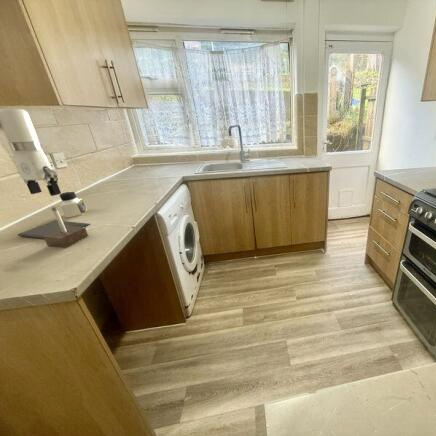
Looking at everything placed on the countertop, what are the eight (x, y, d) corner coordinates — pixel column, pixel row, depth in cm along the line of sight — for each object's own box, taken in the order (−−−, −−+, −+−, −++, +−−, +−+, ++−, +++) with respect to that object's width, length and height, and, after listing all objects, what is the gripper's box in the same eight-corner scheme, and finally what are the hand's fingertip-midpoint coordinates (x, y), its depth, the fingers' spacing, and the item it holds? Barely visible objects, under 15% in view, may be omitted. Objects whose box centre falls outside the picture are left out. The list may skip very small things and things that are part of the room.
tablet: (56, 240, 101) (55, 238, 101) (18, 235, 106) (17, 233, 106) (91, 225, 115) (90, 223, 114) (55, 221, 119) (55, 220, 119)
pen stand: (65, 248, 95) (61, 238, 93) (47, 246, 97) (42, 236, 95) (89, 237, 103) (85, 227, 102) (71, 235, 106) (67, 225, 104)
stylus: (68, 242, 100) (53, 208, 94) (65, 242, 100) (50, 208, 94) (72, 240, 101) (57, 207, 95) (69, 240, 101) (54, 206, 95)
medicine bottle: (82, 215, 126) (72, 193, 120) (65, 218, 123) (54, 196, 118) (87, 210, 132) (77, 189, 127) (71, 213, 129) (61, 191, 124)
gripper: (-6, 147, 84) (17, 195, 90) (32, 149, 80) (52, 198, 87) (21, 145, 90) (40, 189, 97) (57, 146, 87) (74, 192, 93)
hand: (46, 193), depth 92 cm, fingers open, 9 cm apart
